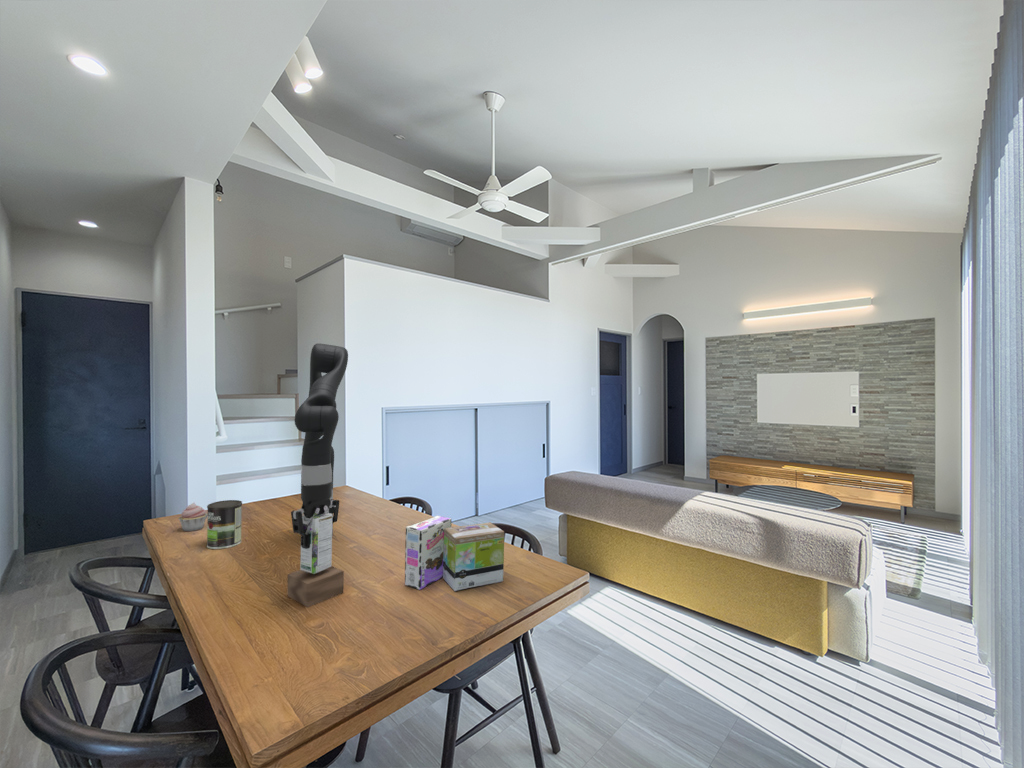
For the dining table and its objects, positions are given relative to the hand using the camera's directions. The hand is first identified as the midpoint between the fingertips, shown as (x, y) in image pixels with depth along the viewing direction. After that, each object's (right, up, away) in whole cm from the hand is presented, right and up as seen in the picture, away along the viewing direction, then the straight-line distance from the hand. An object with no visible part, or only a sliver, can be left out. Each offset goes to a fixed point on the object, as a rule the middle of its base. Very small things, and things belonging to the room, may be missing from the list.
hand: (316, 543), depth 120 cm
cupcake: (-70, -13, +53) cm, 89 cm away
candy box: (+28, -14, +10) cm, 33 cm away
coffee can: (-48, -13, +37) cm, 62 cm away
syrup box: (0, -7, 0) cm, 7 cm away
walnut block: (0, -14, 0) cm, 14 cm away
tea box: (+41, -14, +9) cm, 44 cm away
